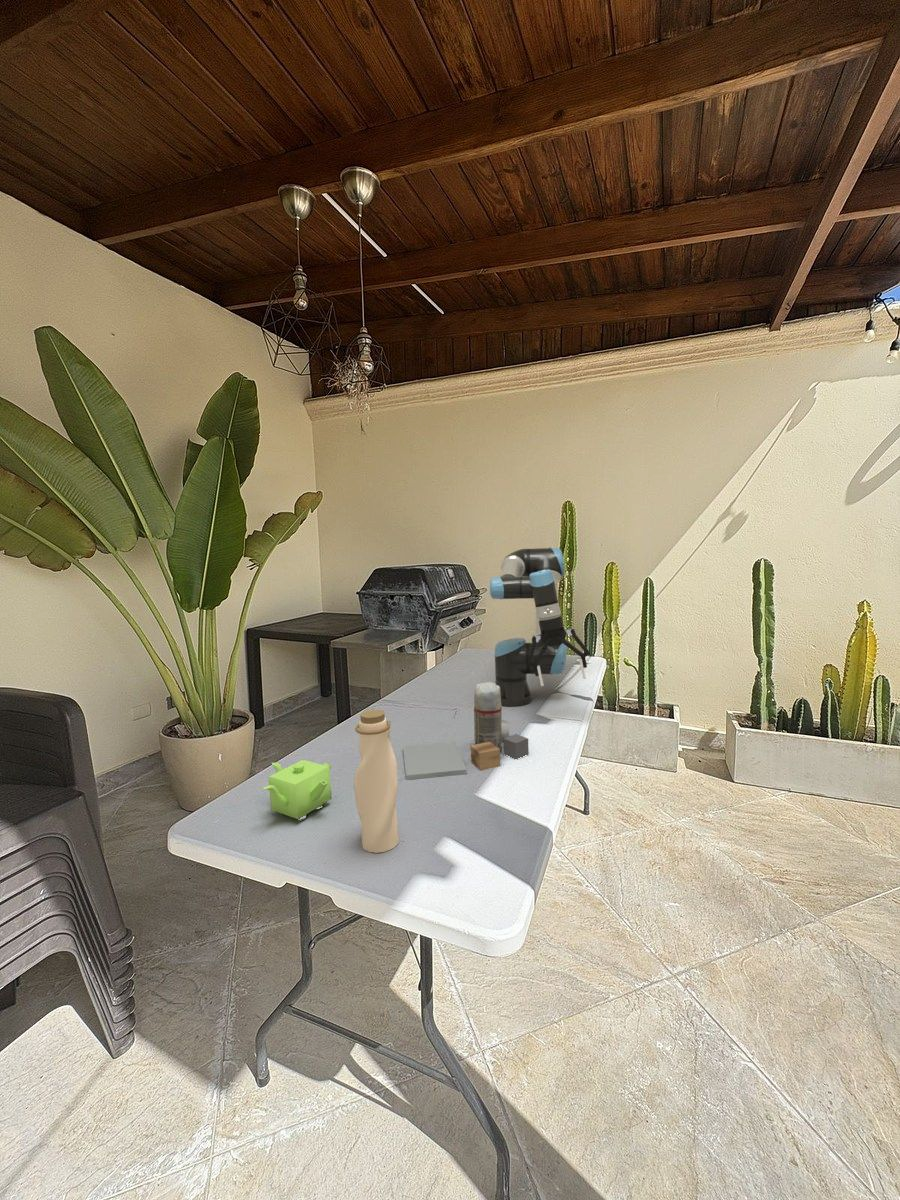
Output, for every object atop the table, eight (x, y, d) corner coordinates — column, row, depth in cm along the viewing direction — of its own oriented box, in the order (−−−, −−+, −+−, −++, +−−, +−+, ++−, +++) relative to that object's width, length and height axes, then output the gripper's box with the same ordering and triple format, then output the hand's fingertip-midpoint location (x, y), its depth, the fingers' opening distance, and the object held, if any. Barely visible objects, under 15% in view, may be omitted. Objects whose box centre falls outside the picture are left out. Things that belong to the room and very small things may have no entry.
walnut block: (471, 762, 149) (470, 745, 149) (490, 758, 152) (489, 741, 151) (480, 771, 144) (480, 753, 143) (500, 766, 146) (499, 749, 146)
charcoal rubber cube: (503, 754, 154) (503, 738, 153) (516, 750, 157) (515, 733, 156) (516, 760, 150) (515, 743, 149) (528, 755, 153) (528, 738, 152)
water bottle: (360, 828, 117) (352, 706, 114) (401, 825, 118) (394, 703, 115) (356, 856, 107) (347, 722, 104) (401, 852, 108) (393, 719, 105)
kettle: (266, 831, 118) (262, 783, 117) (270, 801, 132) (266, 758, 131) (335, 819, 122) (332, 772, 121) (332, 791, 136) (329, 749, 134)
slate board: (403, 750, 160) (402, 746, 160) (455, 745, 162) (455, 741, 162) (406, 779, 140) (406, 775, 140) (466, 773, 142) (466, 769, 142)
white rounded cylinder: (487, 736, 168) (487, 720, 168) (506, 734, 169) (506, 719, 168) (491, 743, 162) (491, 727, 162) (511, 741, 163) (510, 725, 162)
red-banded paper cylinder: (506, 746, 159) (504, 681, 157) (497, 757, 152) (495, 689, 149) (480, 743, 163) (478, 679, 160) (470, 753, 155) (467, 687, 153)
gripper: (510, 626, 171) (524, 690, 171) (589, 611, 166) (603, 677, 166) (512, 623, 178) (525, 685, 179) (588, 609, 173) (601, 672, 174)
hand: (563, 681), depth 173 cm, fingers open, 13 cm apart
